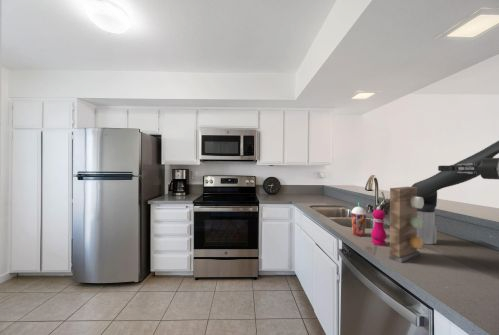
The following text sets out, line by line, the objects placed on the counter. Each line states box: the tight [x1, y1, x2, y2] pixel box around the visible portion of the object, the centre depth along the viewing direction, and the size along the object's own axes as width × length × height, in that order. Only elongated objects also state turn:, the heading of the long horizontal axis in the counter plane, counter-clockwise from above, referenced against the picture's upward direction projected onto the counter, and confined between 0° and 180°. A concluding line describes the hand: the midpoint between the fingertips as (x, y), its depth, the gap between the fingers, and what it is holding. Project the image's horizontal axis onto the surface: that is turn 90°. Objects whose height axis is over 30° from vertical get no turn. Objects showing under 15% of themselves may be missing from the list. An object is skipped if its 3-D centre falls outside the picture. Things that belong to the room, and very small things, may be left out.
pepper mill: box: [370, 206, 387, 247], centre depth 116 cm, size 7×7×20 cm
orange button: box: [410, 236, 424, 250], centre depth 96 cm, size 3×5×5 cm, turn 120°
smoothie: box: [350, 202, 367, 237], centre depth 131 cm, size 8×8×20 cm
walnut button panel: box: [388, 186, 421, 263], centre depth 100 cm, size 5×17×32 cm, turn 120°
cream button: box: [411, 196, 424, 208], centre depth 95 cm, size 3×5×5 cm, turn 120°
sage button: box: [410, 216, 424, 229], centre depth 95 cm, size 3×5×5 cm, turn 120°
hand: (438, 168), depth 89 cm, fingers closed
